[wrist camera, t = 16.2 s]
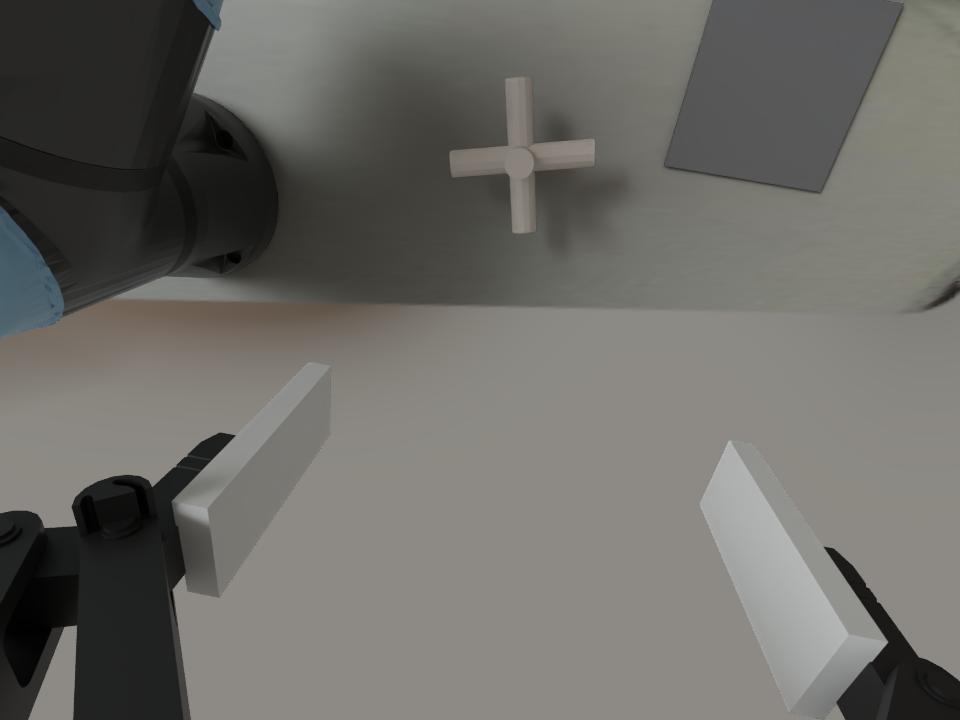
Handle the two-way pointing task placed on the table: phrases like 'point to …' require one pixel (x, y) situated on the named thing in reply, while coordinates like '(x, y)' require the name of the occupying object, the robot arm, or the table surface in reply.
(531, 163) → the pipe connector
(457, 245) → the table surface
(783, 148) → the mat
